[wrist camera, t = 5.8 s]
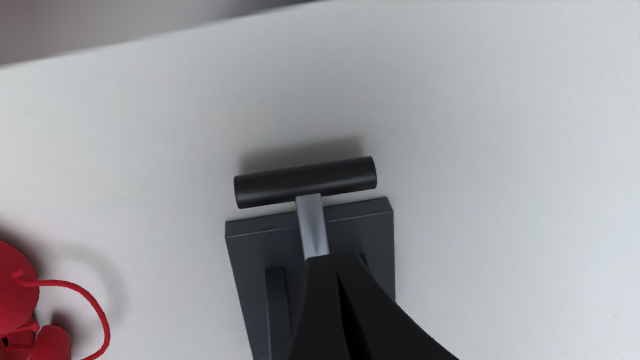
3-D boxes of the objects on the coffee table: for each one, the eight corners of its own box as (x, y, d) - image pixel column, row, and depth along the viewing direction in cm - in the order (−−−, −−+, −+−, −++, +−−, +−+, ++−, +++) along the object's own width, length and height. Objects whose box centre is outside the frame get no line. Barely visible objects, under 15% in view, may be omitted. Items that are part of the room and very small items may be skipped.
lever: (236, 175, 23) (230, 177, 21) (366, 156, 24) (376, 155, 21) (269, 392, 24) (268, 418, 21) (397, 370, 24) (409, 393, 22)
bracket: (225, 221, 25) (220, 336, 18) (387, 196, 25) (436, 300, 19) (254, 350, 29) (258, 477, 23) (391, 326, 30) (431, 444, 24)
